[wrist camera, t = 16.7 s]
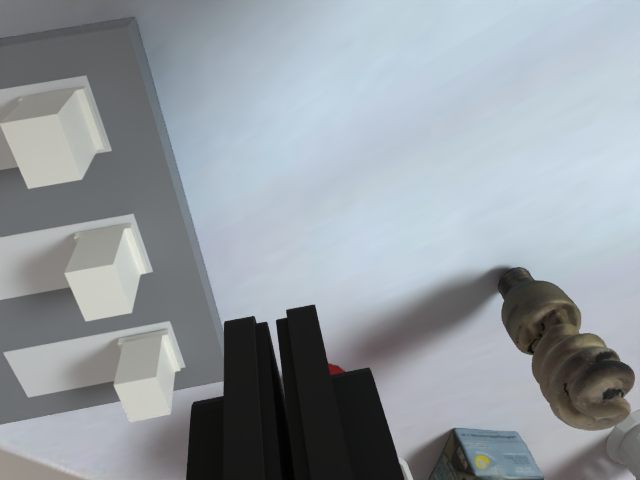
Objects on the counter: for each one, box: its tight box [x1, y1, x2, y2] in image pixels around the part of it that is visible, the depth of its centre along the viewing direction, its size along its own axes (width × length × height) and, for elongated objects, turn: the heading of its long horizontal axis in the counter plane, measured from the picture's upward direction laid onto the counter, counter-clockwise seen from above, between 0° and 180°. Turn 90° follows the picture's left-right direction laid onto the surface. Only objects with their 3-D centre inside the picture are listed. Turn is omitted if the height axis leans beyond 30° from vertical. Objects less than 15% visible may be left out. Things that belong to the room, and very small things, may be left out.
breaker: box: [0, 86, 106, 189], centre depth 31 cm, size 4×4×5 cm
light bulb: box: [498, 267, 635, 431], centre depth 42 cm, size 6×6×15 cm
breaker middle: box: [64, 223, 148, 321], centre depth 36 cm, size 4×4×5 cm
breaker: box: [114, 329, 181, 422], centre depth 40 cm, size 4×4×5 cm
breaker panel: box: [0, 17, 224, 425], centre depth 39 cm, size 27×18×3 cm, turn 7°
